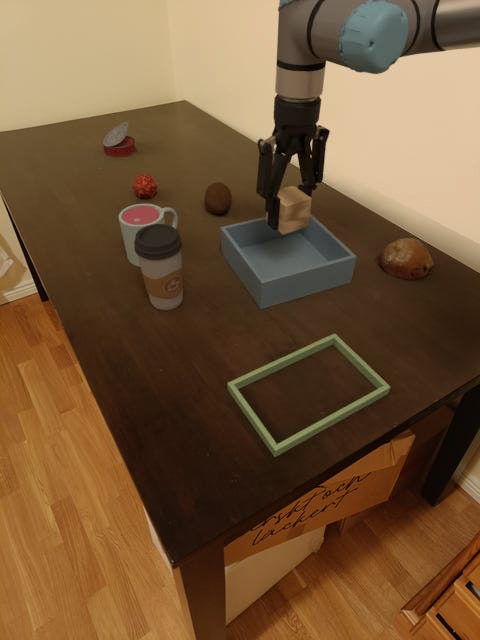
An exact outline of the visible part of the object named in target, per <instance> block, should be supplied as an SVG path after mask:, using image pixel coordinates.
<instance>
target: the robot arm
mask: <svg viewBox="0 0 480 640" xmlns="http://www.w3.org/2000/svg"><path fill="white" fill-rule="evenodd" d="M277 11H278V19H277V21H278V22H277V40H276V41H277V43H276V64H275V65H276V68H275V85H274V92H275V93H276V95H275V96H274V98H273V99H274V100H273V123H274V128H273V131H272V132H271V136H269V137H267V138H265V139H263V138H259V139H258V140H257V144H256V145H257V148H258V152H259V154H258V167H257V178H256V189H255V193H256V194H257V195H259V196H260V197H261V198H262V199H264V200H265V202H264V203H265V205H264V207H265V208H264V211H265V213H266V212H267V213H268V221H267V224H268V225H269V226H270V227H271V228H272V229H273V230H275V231H276V230H278V225H279V211H280V198H279V197H277V195H278V192H279V189H281V186H282V182H283V179H284V177H285V174H286V170H287V168H288V165H289V164H290V163H291V162H292V158H293V156H295V155H297V161H298V166H299V173H300V178H301V184H297V186H298V187H297V188H298V189H299V190H300V191H302V192H303V193H305V194H306V195H308V196H309V197H311V198H313V197H312V196H313V191H316V190H317V188H318V185H317V184H321V183H322V182H323V180H324V171H325V159H326V149H327V148H326V147H327V142H328V139H329V136H330V132H331V131H330V129H329V128H326V127H325V126H323V125H320V124H318V125H317V123H318V122H319V120H320V114H321V107H322V98H321V95H322V94H323V92H324V84H325V83H324V82H325V74H326V66H327V62H329V63H332V64H335V65H338V66H342V67H344V68H348V69H350V70H351V71H355V73H367V74H372V75H379V74H383V73H385V72H387V71H389V69H390V68H391V66H392V65H394V64H396V63H397V61H398V60H399V59H400V58H403V57H404V58H405V57H409V56H414V55H415V56H416V55H422V54H430V53H431V54H432V53H439V52H440V53H441V52H447V51H456V50H467V49H477V48H480V0H279V3H278V6H277Z"/></svg>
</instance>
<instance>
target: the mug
mask: <svg viewBox="0 0 480 640" xmlns="http://www.w3.org/2000/svg"><path fill="white" fill-rule="evenodd" d="M167 213H168V214H170V215H171V216H172V225H171V226H172V227H174V228H175V229H176V230H177V228H178V224H179V216H178V214H177V212H176V210H175V209H174V208H172V207H169V206H164V207H160V206H159V205H157V204H154V203H153V204H152V203H136V204H132V205H129V206H126V207H125V208H124V209H122V210H121V211H120V212H119V214H118V221H119V225H120V230H121V234H122V239H123V244H124V248H125V254H126V257H127V261H128V262H129V263H130V264H131V265H133V266H135V267H139V268H141V266H140V263H139V259H138V256H137V253H136V252H135V249H134V247H135V246H134V241H135V236H136V233H137V232H138V231H139V230H140V229H141V228H143V227H145V226H149V225H153V224H166V218H165V214H167Z"/></svg>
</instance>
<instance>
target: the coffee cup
mask: <svg viewBox="0 0 480 640" xmlns="http://www.w3.org/2000/svg"><path fill="white" fill-rule="evenodd" d="M134 246H135V247H134V249H135V252H136V253H137V256H138V259H139V263H140V266H141V267H140V271H141V275H142V278H143V282H144V285H145V289H146V291H147V294H148V298H149V302H150V304H151V305H152V306H153V307H154V308H155V309H157V310H159V311H166V312H167V311H173V310H174V309H177V308H178V307H179V306H180V305H181V304H182V302H183V300H184V276H183V275H184V271H183V270H184V269H183V267H184V266H183V257H182V247H183V241H182V237H181V235H180V233H179V232H178V230H177V228H176V229H175V228H174V227H172V225H169V224H166V223H165V224H153V225H149V226H145V227H143V228H141V229H140V230H139V231H138V232H137V233H136V236H135V241H134Z"/></svg>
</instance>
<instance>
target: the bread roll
mask: <svg viewBox="0 0 480 640" xmlns="http://www.w3.org/2000/svg"><path fill="white" fill-rule="evenodd" d="M430 254H431V253H430V252H429V250H428V249H427V248H426V246H425V245H424V244H423V243H422V242H421V241H420V240H419V239H417V238H414V237H405V238H399V239H396V240H395V241H393V242H390V243H389V244H387V245H386V246H385V247H384V249H383V250H382V251H381V254H380V257H379V263H380V266H381V268H382V269H383V270H384V271H385V272H386V273H387V274H388V275H391V276H393V277H395V278H398V279H401V280H409V281H415V280H419V279H422V278H423V277H425V276H426V275H427V274H430V273H432V270H431V267H432V266H434V264H435V263H434V262H433V258H432V257H431V255H430Z"/></svg>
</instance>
